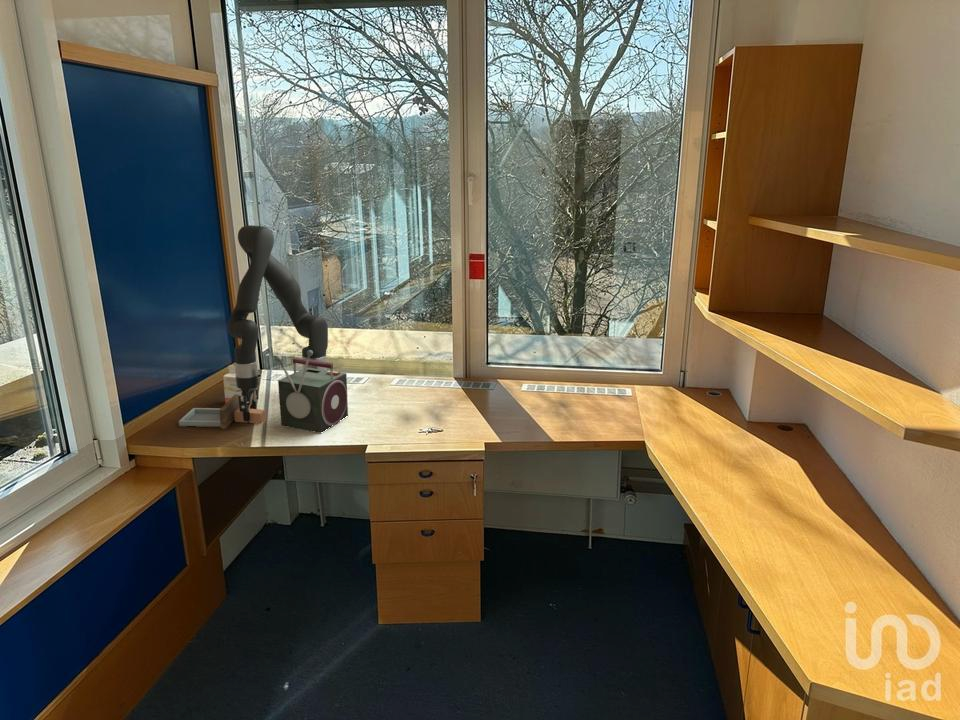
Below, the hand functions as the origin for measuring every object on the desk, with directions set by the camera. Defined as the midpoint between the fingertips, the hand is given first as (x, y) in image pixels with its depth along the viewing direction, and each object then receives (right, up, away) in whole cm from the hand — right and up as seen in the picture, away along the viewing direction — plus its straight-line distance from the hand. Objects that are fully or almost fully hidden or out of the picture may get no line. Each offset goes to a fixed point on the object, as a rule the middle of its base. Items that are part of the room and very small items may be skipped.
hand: (250, 416), depth 239 cm
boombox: (+23, -2, +1) cm, 23 cm away
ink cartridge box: (-10, +4, +16) cm, 20 cm away
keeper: (-16, -1, 0) cm, 16 cm away
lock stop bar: (0, -2, 0) cm, 2 cm away
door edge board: (-7, -1, 0) cm, 7 cm away
